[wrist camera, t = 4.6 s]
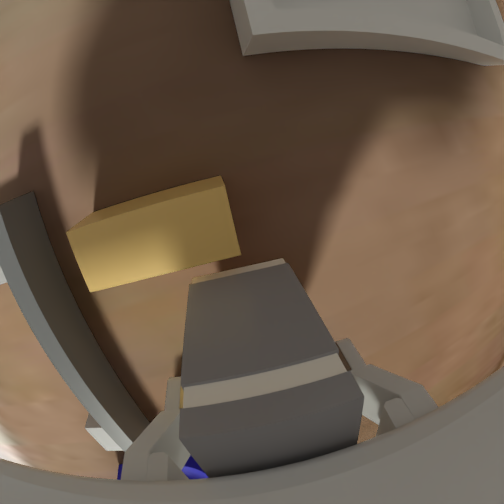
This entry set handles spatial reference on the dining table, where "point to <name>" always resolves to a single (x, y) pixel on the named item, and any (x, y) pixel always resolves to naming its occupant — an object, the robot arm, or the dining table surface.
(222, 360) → the grey rectangular box
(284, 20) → the parts tray
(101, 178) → the dining table surface
